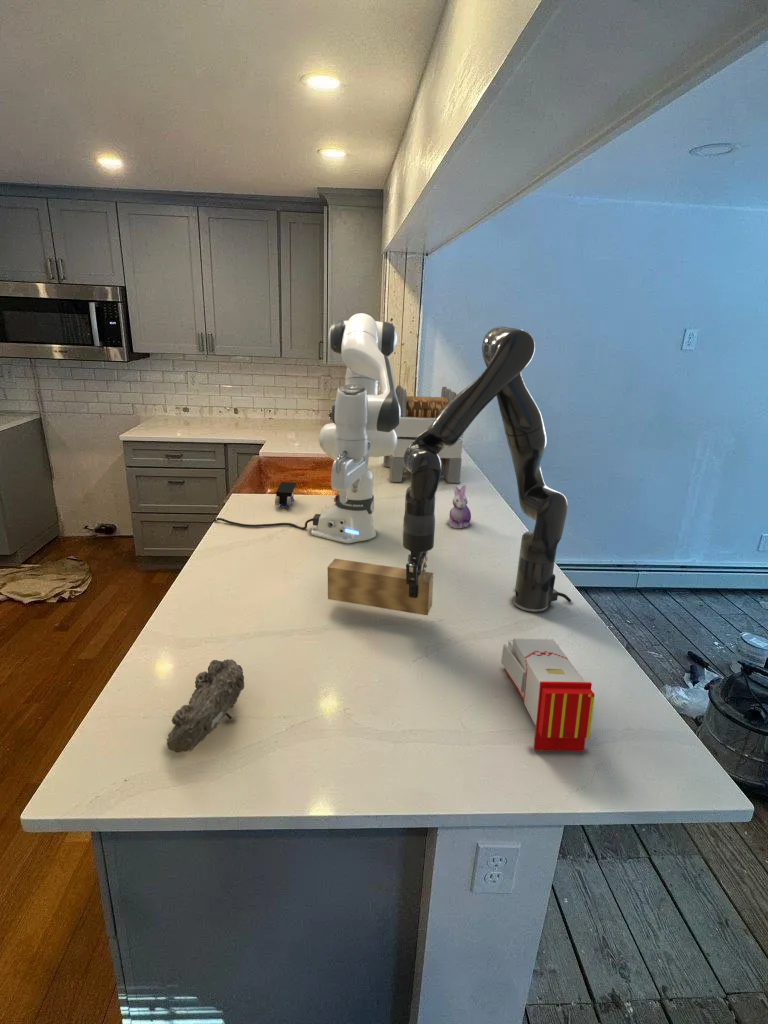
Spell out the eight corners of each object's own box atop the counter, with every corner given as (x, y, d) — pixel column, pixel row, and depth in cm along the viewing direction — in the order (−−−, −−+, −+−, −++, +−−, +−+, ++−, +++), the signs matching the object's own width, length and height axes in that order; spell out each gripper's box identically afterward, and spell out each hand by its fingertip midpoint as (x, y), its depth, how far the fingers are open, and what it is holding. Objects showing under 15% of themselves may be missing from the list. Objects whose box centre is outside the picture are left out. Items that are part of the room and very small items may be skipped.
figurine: (456, 530, 205) (460, 491, 199) (441, 521, 213) (444, 483, 208) (477, 527, 209) (481, 488, 204) (461, 518, 217) (465, 480, 212)
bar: (327, 599, 146) (327, 566, 143) (335, 589, 151) (334, 558, 148) (427, 615, 139) (429, 582, 136) (432, 605, 144) (433, 572, 141)
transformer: (382, 463, 289) (386, 382, 275) (445, 464, 293) (451, 384, 279) (390, 482, 257) (394, 392, 243) (460, 483, 261) (468, 394, 247)
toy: (549, 621, 128) (604, 690, 99) (544, 676, 131) (595, 758, 101) (496, 620, 128) (535, 688, 98) (492, 675, 130) (528, 757, 101)
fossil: (192, 660, 117) (244, 628, 112) (224, 691, 120) (276, 661, 115) (142, 746, 98) (202, 712, 93) (182, 779, 101) (242, 748, 96)
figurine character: (292, 514, 217) (296, 498, 230) (291, 496, 214) (296, 480, 227) (274, 514, 217) (280, 497, 230) (273, 496, 213) (279, 480, 227)
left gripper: (348, 457, 140) (347, 510, 145) (373, 441, 159) (371, 488, 164) (325, 455, 142) (324, 507, 147) (351, 438, 161) (350, 485, 165)
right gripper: (428, 541, 128) (424, 607, 134) (440, 520, 141) (436, 581, 147) (395, 537, 130) (394, 602, 136) (410, 516, 143) (408, 576, 149)
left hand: (349, 497), depth 155 cm, fingers open, 8 cm apart
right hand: (416, 591), depth 141 cm, fingers closed on bar, 5 cm apart
